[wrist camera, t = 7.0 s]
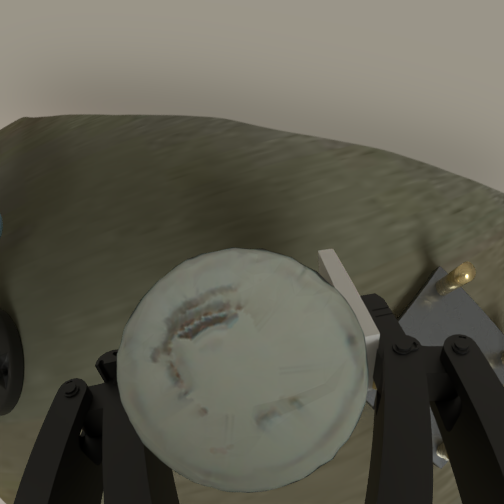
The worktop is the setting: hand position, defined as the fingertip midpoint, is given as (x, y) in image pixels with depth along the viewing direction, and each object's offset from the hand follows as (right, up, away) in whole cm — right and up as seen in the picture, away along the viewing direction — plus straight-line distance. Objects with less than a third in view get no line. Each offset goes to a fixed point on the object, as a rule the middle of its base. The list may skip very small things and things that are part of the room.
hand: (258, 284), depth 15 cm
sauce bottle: (+1, -7, +8) cm, 10 cm away
